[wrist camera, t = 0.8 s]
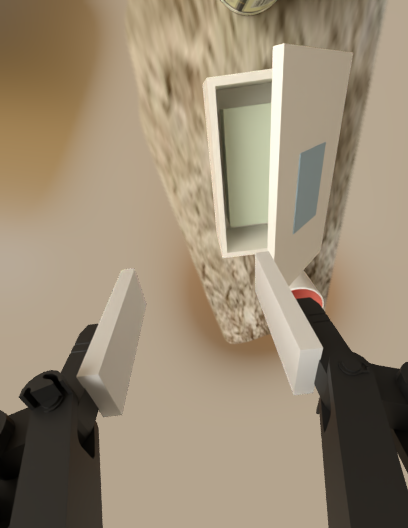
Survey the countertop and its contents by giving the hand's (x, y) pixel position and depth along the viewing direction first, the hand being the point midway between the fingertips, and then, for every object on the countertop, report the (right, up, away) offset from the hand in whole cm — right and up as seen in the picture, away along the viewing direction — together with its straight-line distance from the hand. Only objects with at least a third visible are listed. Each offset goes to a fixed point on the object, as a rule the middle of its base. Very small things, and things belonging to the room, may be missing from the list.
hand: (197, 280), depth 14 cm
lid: (+11, +9, +12) cm, 19 cm away
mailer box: (+8, +17, +24) cm, 31 cm away
